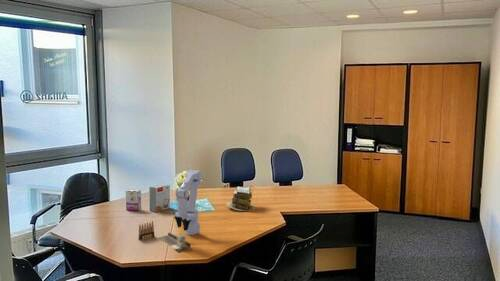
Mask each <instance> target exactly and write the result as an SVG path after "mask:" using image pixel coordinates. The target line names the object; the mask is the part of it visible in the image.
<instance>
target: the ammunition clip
mask: <svg viewBox="0 0 500 281" xmlns="http://www.w3.org/2000/svg"><path fill="white" fill-rule="evenodd" d="M154 237H155V226H154V221H153V220H152V221H149V222H148V221H147V222H146V223H145V222H144V223H142V224H138V237H137V238H138V241H142V240H147V239H149V238H154Z"/></svg>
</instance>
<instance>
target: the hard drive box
mask: <svg viewBox="0 0 500 281" xmlns="http://www.w3.org/2000/svg"><path fill="white" fill-rule="evenodd" d="M170 190H171V185H170V184H167V183H161V184H155V185H150V186H149V211H150V212H154V213H156V212H158V213H159V212H162V211H165V210H168V209H170V208H171V204H170V203H171V201H170V200H171V191H170Z"/></svg>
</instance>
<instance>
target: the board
mask: <svg viewBox="0 0 500 281" xmlns="http://www.w3.org/2000/svg"><path fill="white" fill-rule="evenodd" d="M167 234H168V235H164V236H159V237H157V239H158V240H160V241H162V242H164V243H165V244H167V245H169V246H170V247H172V248H174V249H173V251H175V252H176V253H179V252H183V251H186V250H191V248H192V246H191V243H190V242H188V241H186V245H185V246H182V247H180V246H178V245H177V236H178V235H175V234H173V233H171V232H167Z"/></svg>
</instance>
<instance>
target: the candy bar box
mask: <svg viewBox="0 0 500 281" xmlns="http://www.w3.org/2000/svg"><path fill="white" fill-rule="evenodd" d="M125 202H126V203H125V204H126V205H125V206H126V211H130V210H132V211H131V212H133V211H134V212H139V211H141V210H142V191H141V189H127V190H125Z"/></svg>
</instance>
